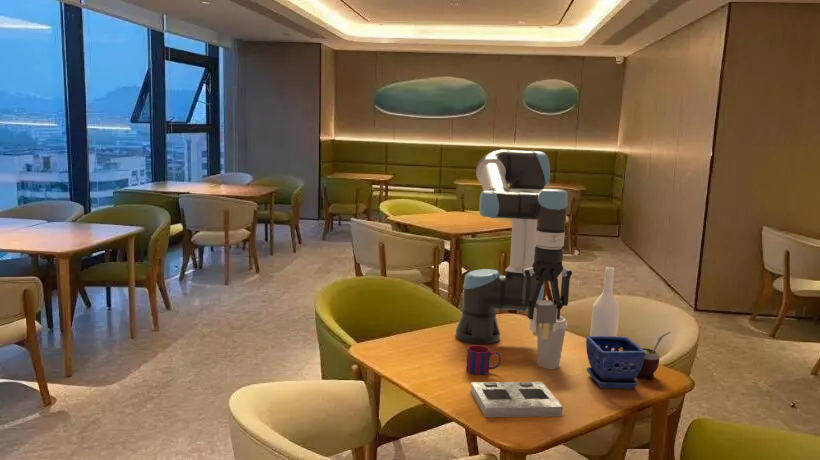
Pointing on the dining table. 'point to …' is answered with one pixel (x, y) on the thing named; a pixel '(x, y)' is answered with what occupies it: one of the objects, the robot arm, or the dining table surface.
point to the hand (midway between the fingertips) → (542, 330)
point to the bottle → (605, 310)
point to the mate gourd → (650, 361)
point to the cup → (479, 359)
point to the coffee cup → (551, 345)
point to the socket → (515, 399)
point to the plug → (545, 316)
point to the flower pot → (614, 361)
